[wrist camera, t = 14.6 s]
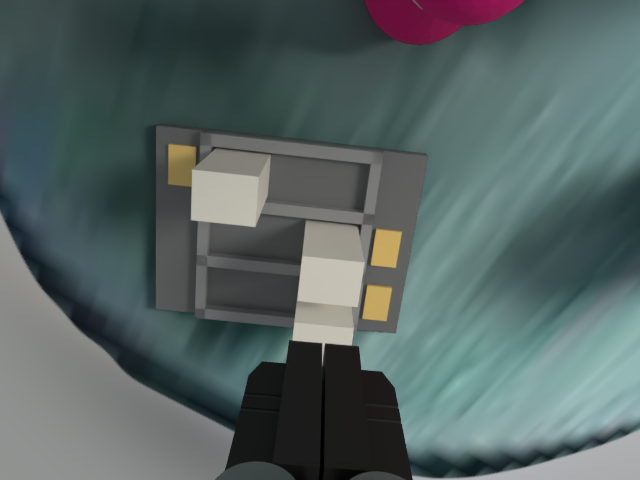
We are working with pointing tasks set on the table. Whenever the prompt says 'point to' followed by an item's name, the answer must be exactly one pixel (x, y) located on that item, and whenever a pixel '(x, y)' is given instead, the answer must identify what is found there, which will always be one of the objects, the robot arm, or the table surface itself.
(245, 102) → the table surface
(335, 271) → the tab middle
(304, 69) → the table surface
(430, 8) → the pepper mill
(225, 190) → the tab inner
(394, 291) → the switch box
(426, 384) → the table surface
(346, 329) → the block
